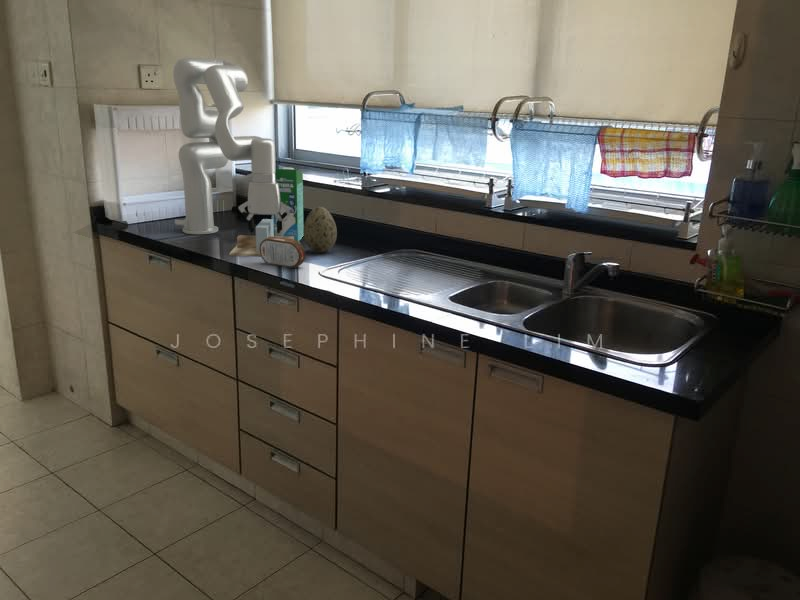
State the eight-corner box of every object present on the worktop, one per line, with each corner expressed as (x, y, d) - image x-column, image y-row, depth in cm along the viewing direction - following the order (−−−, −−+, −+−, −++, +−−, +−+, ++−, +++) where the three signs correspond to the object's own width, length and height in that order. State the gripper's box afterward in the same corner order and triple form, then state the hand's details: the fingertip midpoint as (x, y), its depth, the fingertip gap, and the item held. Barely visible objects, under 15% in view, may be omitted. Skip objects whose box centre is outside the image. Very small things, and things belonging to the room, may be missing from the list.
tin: (306, 267, 204) (305, 240, 202) (300, 270, 202) (299, 242, 199) (264, 261, 210) (263, 234, 208) (258, 263, 208) (257, 236, 205)
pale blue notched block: (267, 252, 218) (266, 227, 216) (256, 252, 218) (255, 227, 215) (274, 242, 231) (273, 219, 229) (263, 242, 231) (262, 218, 229)
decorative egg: (307, 247, 229) (306, 203, 224) (339, 249, 228) (339, 204, 224) (300, 255, 219) (299, 208, 214) (333, 256, 218) (333, 210, 213)
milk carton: (303, 236, 245) (302, 166, 238) (297, 242, 236) (296, 169, 229) (279, 235, 246) (277, 165, 238) (272, 240, 237) (270, 168, 230)
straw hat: (229, 255, 216) (229, 242, 215) (240, 242, 233) (240, 230, 232) (293, 256, 216) (292, 243, 215) (299, 244, 234) (299, 232, 232)
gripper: (233, 179, 214) (236, 233, 219) (289, 180, 214) (290, 235, 220) (238, 176, 221) (241, 229, 226) (292, 177, 222) (293, 230, 227)
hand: (265, 231), depth 223 cm, fingers open, 8 cm apart
